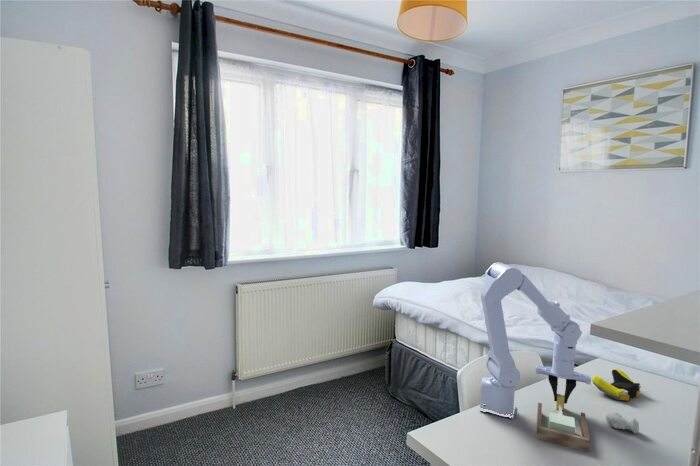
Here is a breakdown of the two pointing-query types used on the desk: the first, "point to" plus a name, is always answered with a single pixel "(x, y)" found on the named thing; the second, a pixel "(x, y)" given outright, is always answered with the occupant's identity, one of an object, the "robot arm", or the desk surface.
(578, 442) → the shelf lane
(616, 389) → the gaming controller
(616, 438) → the desk surface
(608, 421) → the smooth white sculpture
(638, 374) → the desk surface
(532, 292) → the robot arm
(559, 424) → the tethered block
